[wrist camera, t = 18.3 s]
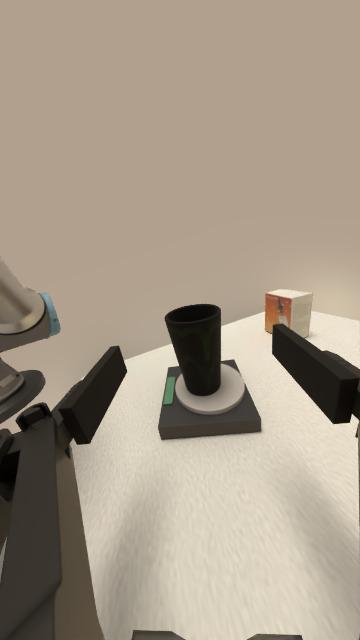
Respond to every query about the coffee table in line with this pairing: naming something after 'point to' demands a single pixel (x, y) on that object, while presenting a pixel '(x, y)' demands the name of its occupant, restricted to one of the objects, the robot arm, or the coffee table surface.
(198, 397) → the scale
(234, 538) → the coffee table surface
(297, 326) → the small box
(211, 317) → the cup
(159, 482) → the coffee table surface
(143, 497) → the coffee table surface
